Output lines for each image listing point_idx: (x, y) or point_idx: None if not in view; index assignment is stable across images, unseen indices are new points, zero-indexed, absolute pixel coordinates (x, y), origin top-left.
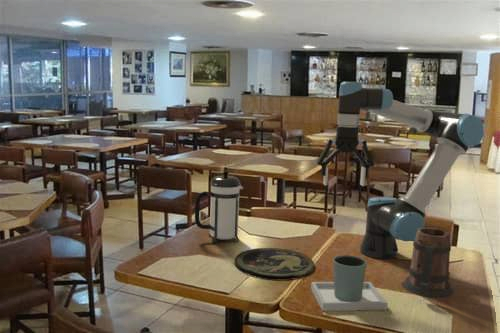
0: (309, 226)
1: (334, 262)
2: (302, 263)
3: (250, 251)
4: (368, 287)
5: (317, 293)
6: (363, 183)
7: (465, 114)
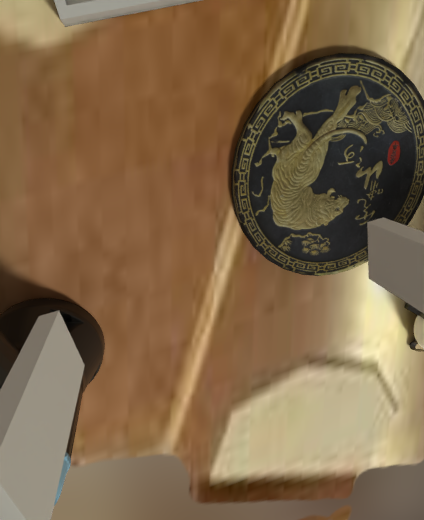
0: (235, 464)
1: None
2: (266, 176)
3: None
4: (67, 2)
5: None
6: (42, 326)
7: None
